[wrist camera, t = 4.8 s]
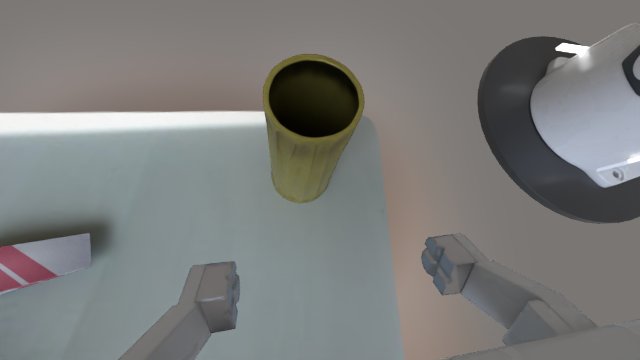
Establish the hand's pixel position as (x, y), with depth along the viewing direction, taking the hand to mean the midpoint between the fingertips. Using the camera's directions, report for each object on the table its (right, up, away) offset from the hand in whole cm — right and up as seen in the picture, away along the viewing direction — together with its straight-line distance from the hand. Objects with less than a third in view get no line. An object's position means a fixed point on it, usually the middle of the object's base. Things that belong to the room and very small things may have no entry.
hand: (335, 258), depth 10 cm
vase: (-3, +4, +16) cm, 17 cm away
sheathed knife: (-30, -5, +10) cm, 32 cm away
